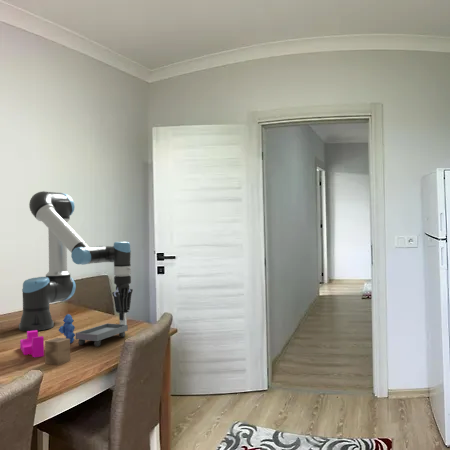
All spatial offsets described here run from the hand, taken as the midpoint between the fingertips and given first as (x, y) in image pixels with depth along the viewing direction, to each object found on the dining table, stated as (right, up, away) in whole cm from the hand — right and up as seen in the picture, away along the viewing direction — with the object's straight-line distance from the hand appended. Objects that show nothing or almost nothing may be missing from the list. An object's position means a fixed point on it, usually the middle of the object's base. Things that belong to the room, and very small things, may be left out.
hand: (123, 326), depth 211 cm
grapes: (-21, -4, -15) cm, 26 cm away
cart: (-6, -3, -14) cm, 15 cm away
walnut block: (-14, -3, -44) cm, 46 cm away
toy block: (-29, -4, -31) cm, 43 cm away
